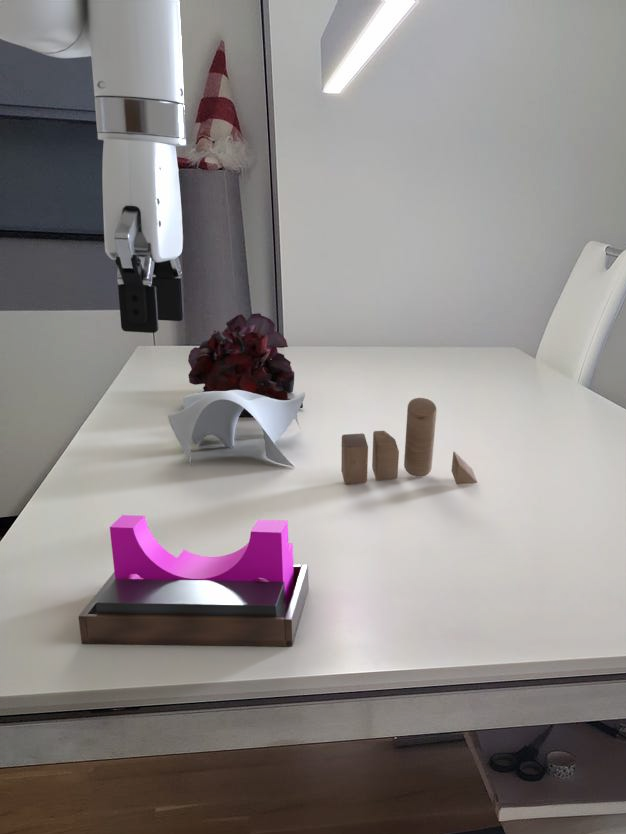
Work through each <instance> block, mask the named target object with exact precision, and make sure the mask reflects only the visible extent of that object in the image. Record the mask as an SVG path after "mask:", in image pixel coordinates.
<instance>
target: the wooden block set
mask: <svg viewBox="0 0 626 834" xmlns="http://www.w3.org/2000/svg"><path fill="white" fill-rule="evenodd" d="M437 411H438V410H437V405H436V404H435V402H434V401H432V400H431V399H428V398H425V397H416V398H415V397H414V398H413V399H411V400H410V401H409V402H408V404H407V410H406V427H405V443H404V457H403V459H404V461H403V467H404V470H405V472H406V473H408V474H409V475H411V476H414V477H419V478H420V477H425V476H427V475H429V474H430V473H431V471H432V468H433V456H434V444H435V432H436V421H437ZM371 458H372V459H371V461H372V462H371V463H372V464H371V468H372V472H373V475H374V478H375V480H376V481H384V480H396V479H398V476H399V458H400V450H399V448H398V444H397V441H396V439H395V438H394V437H393V436H392V435H391V434H389V433H388V432H387V431H385V430H374V431H373V434H372V457H371ZM368 461H369V445H368V441H367V438H366V435H365V434H364V433H363V432H362V433H350V434H349V433H347V434H342V435H341V469H340V470H341V474H342V478H343V483H344V484H345V485H354V484H355V485H356V484H366V483H367V482H368V464H369V463H368ZM451 474H452V476H453V479H454V482H455V484H456V485H465V484H466V485H467V484H477V483H478V480H477V478H476V475H475V473H474V470H473V468H472V467H471V466H470V465H469V464H468V463H467V462H466V461H465V460H464V459H462V457H461V456H460V455H459V454H458V453H457V452H456V451H455V450H454V451H453V452H452V462H451Z"/></svg>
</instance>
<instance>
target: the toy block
mask: <svg viewBox="0 0 626 834" xmlns="http://www.w3.org/2000/svg"><path fill="white" fill-rule="evenodd" d="M109 533H110V534H109V535H110V541H111V542H110V543H111V544H110V545H111V553H112V560H113V561H112V563H113V571H114V572H113V573H115V579H159V580H215V581H271V582H284V585H285V608H286V606H287V604H288V601H289V599H290V596H291V594H292V592H293V589H294V568H293V565H294V543H292V542H289V521H288V520H287V519H257V521H256V522H255V524H254V526H253V527H252V529H251V531H250V533H249V534H250V536H249V540H248V543H246V544H245V545H244V546H243V547H242V548H240V549H238V550H236V551H234V552H231V553H229V554H226V555H225V554H224V555H220V556H219V555H218V556H206V555H200V554H196V553H193V552H190V551H188V550H186V549H183V550H182V551H181V553H179V555H178V556H175V555H173V554H171V553H170V552H169V551H168V550H166V549H165V548H164V547H163V546H162V545H161V544H160V543H159V542H158V540H157V539H156V538H155V537H154V535H153V533H152V532H151V529H150V526H149V525H148V522H147V518H146V515H131V514H130V515H129V514H122V515H121V516H120V517H119V518H117V520H116V521H114V522H113V523H112V524H111V525H110V526H109ZM140 576H141V577H142V578H141V577H140Z"/></svg>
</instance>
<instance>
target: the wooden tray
mask: <svg viewBox="0 0 626 834" xmlns="http://www.w3.org/2000/svg"><path fill="white" fill-rule="evenodd" d="M293 568H294V589H293V592H292V594H291V596H290V599H289V601H288V604H287V606H286V608H285V585H284V582H271V581H215V580H159V579H115V573H114V572H113V573H112V574H111V575H110V577H109V578H108V579H107V580H106V582H105V583H104V584H103V585H102V586H101V588H100V589H99V590H98V591H97V593H96V594H95V595H94V596H93V598H92V599H91V600H90V601H89V602H88V603H87V605H86V606H85V607H84V608H83V610H82V611H81V612H80V613H79V615H78V616H77V617H78V627H79V633H80V641H81V642H80V643H81V644H91V645H92V644H93V645H94V644H98V645H99V644H101V645H103V644H104V645H106V644H107V645H112V644H113V645H167V646H168V645H173V646H174V645H175V646H176V645H177V646H179V645H180V646H236V647H237V646H241V647H243V646H245V647H247V646H248V647H249V646H250V647H251V646H253V647H293V645H294V642H295V639H296V635H297V631H298V628H299V625H300V622H301V617H302V614H303V610H304V607H305V603H306V600H307V597H308V592H309V589H310V587H309V565H308V564H293ZM140 577H141V576H140ZM141 578H142V577H141Z"/></svg>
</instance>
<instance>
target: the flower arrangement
mask: <svg viewBox="0 0 626 834" xmlns="http://www.w3.org/2000/svg"><path fill="white" fill-rule="evenodd" d="M225 324H226V326H227V327H226V328H225V329H224V330H220V331H219V330H216V328H214V329H213V333H212V334H211V335H210V338H209V339H208V340H205V341H202V343H201V344H200V345H199V347H194V348H192V349H191V350H190V352H189V354H188V360H187V362H188V364H189V366H190V368H191V370H190V372H189V373H188V375H187V376H188V382H189V384H191V385H194V386H197V385H204V386H203V387H202V389H203V390H202V392H210V391H229V390H242V391H247V392H251V393H254V394H258V395H262V396H266V397H269V398H272V399H276V400H291V399H292V398H289V396H288V393H293V392H294V387H295V371H294V370H293V369H292V365H291V364H292V363H291V361H290V360H289V359H287V358H286V357H285V354H283V353H282V352H281V353H280V352H279V351H278V349H283V348H284V349H285V348H289V346H288V343H287V339H286V338H285V337H284V335H282V333H281V332H278V331H275V330H276V324H275V322H274V321H273V320H272V319H271V318H269V317H267V316H264V315H262V314H261V313H260V312H258V313H251V314H250V316H249V317H248V318H247V319H246V317H245V316H244V315H243V314H242V313H241V314H237V315H236V316H234V317H233V318H231V319H230V320H228V321H226V322H225ZM303 408H304V401H303V402H302V405H301V407H300V409H303ZM240 416H248V417H247V418H253V417H252V415H251V414H250V413H249V412H248V411H247V410H246V409H245V408H244V409H243V411H242V412H241V414H240ZM249 416H250V417H249Z"/></svg>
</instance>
